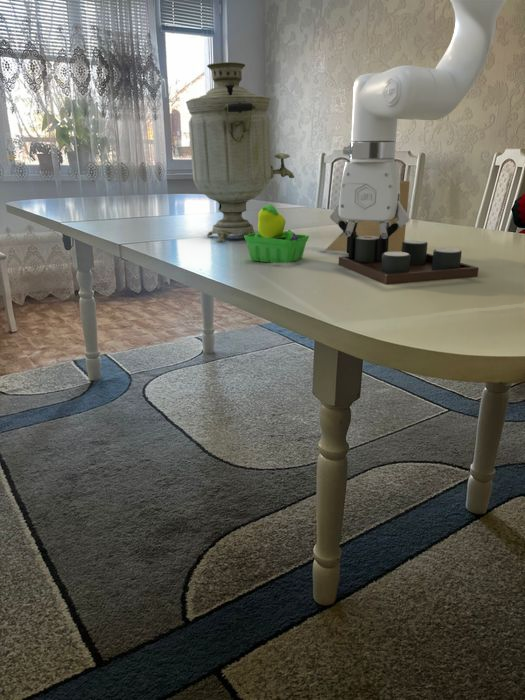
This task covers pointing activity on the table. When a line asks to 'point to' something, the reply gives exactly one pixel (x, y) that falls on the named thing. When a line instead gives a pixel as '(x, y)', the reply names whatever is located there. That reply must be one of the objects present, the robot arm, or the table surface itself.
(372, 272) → the tray
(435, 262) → the corner roll
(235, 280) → the table surface
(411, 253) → the corner roll
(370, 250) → the maki roll
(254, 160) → the samovar
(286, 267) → the table surface
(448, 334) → the table surface
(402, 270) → the corner roll
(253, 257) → the fruit basket
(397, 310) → the table surface
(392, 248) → the sandwich container
